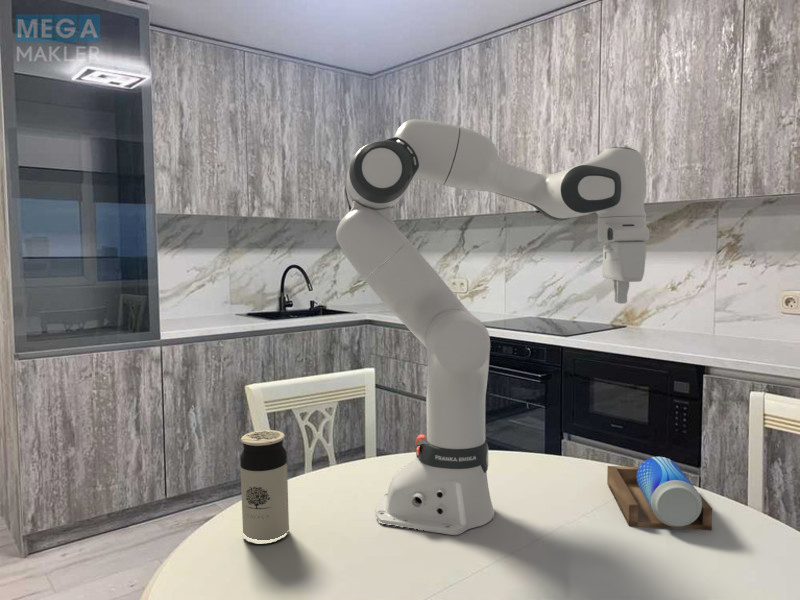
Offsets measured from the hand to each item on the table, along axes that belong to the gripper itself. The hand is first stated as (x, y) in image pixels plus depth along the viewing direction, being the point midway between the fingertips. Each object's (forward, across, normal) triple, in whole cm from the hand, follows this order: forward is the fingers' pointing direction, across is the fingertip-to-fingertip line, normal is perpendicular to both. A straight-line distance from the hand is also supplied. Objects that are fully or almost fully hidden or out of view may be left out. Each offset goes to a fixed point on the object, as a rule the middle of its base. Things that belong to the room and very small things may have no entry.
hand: (620, 303), depth 117 cm
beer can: (+34, +16, +7) cm, 39 cm away
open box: (+39, +5, +6) cm, 40 cm away
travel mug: (+39, +25, -65) cm, 80 cm away
